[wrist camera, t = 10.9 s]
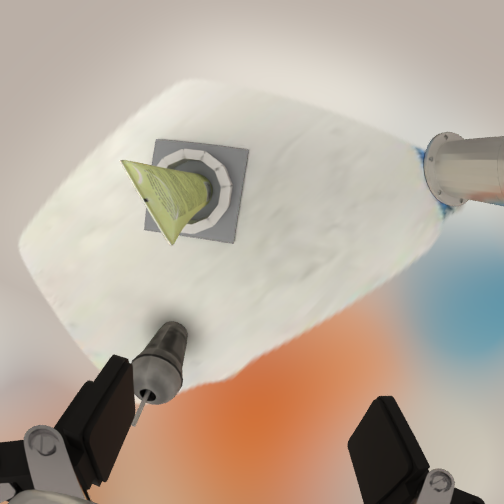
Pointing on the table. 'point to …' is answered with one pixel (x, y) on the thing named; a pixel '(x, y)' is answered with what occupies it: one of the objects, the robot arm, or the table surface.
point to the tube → (169, 195)
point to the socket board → (222, 181)
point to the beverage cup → (160, 367)
